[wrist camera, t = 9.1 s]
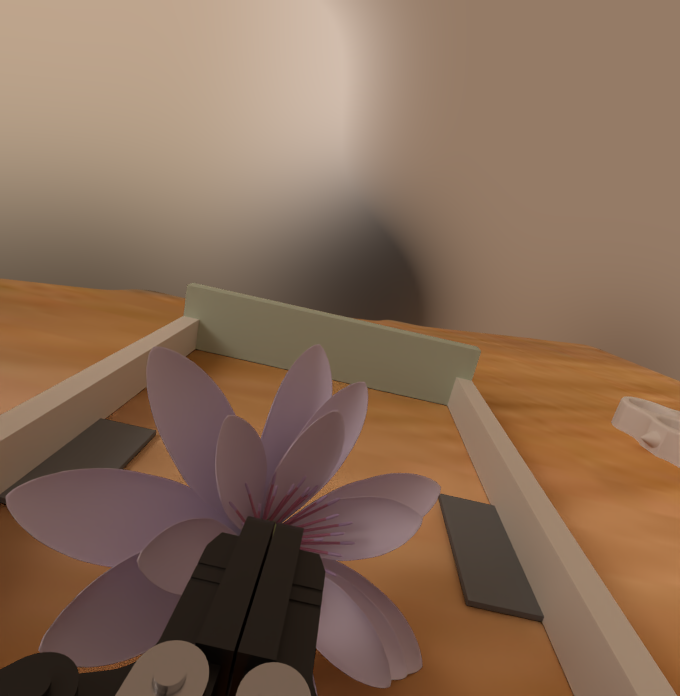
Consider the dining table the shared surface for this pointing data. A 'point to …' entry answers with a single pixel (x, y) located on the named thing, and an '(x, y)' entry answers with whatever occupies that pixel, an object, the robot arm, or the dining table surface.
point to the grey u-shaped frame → (390, 376)
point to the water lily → (230, 517)
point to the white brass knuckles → (650, 427)
